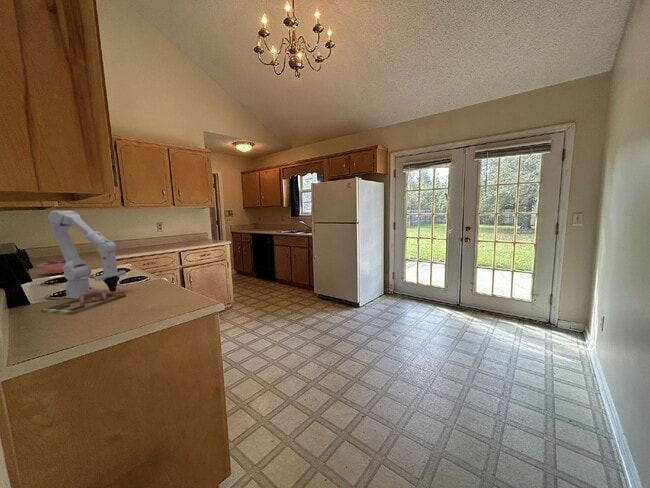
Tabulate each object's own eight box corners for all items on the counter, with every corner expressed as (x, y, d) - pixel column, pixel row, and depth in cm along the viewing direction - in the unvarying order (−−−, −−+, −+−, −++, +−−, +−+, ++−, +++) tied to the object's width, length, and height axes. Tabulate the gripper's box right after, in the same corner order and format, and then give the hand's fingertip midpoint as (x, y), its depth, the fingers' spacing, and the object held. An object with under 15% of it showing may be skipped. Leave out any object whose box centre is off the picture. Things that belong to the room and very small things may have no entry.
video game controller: (106, 302, 135) (104, 288, 137) (107, 299, 132) (104, 286, 134) (80, 307, 128) (77, 293, 130) (80, 305, 125) (77, 290, 127)
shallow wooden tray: (41, 312, 119) (40, 309, 119) (98, 294, 142) (97, 292, 142) (72, 314, 115) (72, 311, 115) (125, 296, 138) (125, 294, 138)
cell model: (40, 274, 197) (37, 259, 196) (77, 269, 210) (75, 255, 209) (37, 278, 185) (35, 261, 183) (77, 273, 198) (75, 257, 196)
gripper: (101, 268, 131) (105, 296, 133) (129, 262, 145) (132, 287, 147) (89, 268, 133) (93, 295, 134) (118, 262, 147) (121, 287, 148)
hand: (113, 291), depth 141 cm, fingers closed
